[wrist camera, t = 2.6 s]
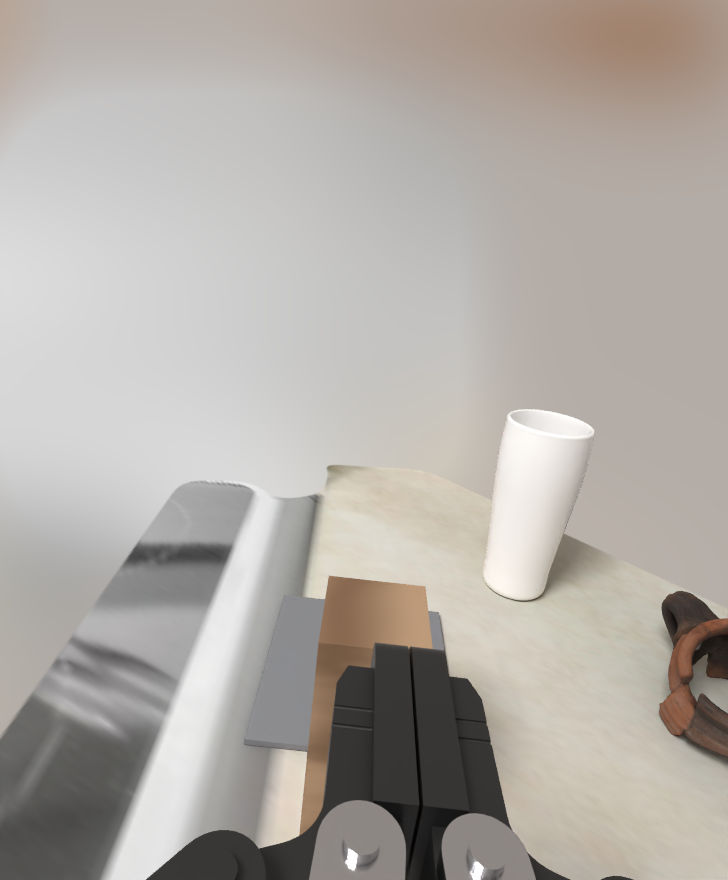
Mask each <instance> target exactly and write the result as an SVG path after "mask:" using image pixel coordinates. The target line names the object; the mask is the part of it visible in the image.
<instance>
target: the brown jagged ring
mask: <svg viewBox="0 0 728 880" xmlns="http://www.w3.org/2000/svg"><path fill="white" fill-rule="evenodd" d="M662 614H663V618H664V621H665V624H666V627H667V629H668V632H669V634H670V637H671V639H672V641H673V645H674V648H673V652H672V656H671V661H670V665H669V673H668V677H669V685H670V690H671V692H672V693H671V694H670V695H669V696H668V697H667V698H666V700H665V701H664V702H663V703H660V710H659V713H660V716H661V718H662V720H663V721H664V723H665V725H666V726H667V728H668V730H669V731H670V732H671V734H673V735H682V734H683V733H684V734H685V736H686V737H687V738H688V739H689V740H690V741H692V742H695V743H697V744H699V745H701V746H703V747H705V748H707V749H710V750H712V751H714V752H717V753H720V754H722V755H724V756H727V757H728V713H726V712H724V711H723V710H721V709H720V708H719V707H717V706H716V705H715V704H714V703H712V702H711V701H710V700H709V699H708V698H707V697H706V696H705V695H704V694H700V696H699V698H698V701H696V699H695V698H694V696H693V695H692V693H691V691H690V687H689V682H690V681H691V679H692V678H693V669H692V665H694V664H695V663H696V662H697V661H698V660H699V659H701V658H702V657H703V656H704V655H706V654H707V653H708V659H707V661H708V666H707V670H706V673H707V676H708V677H715V678H725V679H728V619H719V618H718V617H717V616H716V615H715V614H714V613H713V612H712V611H711V610H710V609H709V607H708V606H707V605H706V604H705V603H704V602H703V601H701V600H700V599H698V598H697V597H695V596H694V595H693V594H691V593H688V592H683V591H677V592H675V593H673V594H670V595H668V596H667V597H666V599H665V600H664V601H663V603H662Z"/></svg>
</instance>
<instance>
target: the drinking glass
mask: <svg viewBox="0 0 728 880" xmlns="http://www.w3.org/2000/svg"><path fill="white" fill-rule="evenodd" d="M594 435H595V431H594V429H593V428H592V427H591V426H590V425H588V424H587V423H585V422H583V421H581V420H578V419H576V418H573V417H570V416H567V415H563V414H559V413H554V412H549V411H543V410H533V409H521V410H515V411H512V412H510V413H509V414H508V415H507V419H506V423H505V426H504V430H503V434H502V438H501V442H500V447H499V452H498V458H497V464H496V472H495V480H494V490H493V498H492V507H491V516H490V525H489V533H488V541H487V549H486V556H485V561H484V565H483V571H482V574H483V579H484V581H485V583H486V584H487V585H488V586H489V587H490V588H491V589H492V590H493V591H495V592H496V593H498V594H500V595H502V596H504V597H507V598H510V599H514V600H532V599H535V598H537V597H539V596H540V595H541V594H542V593H543V591H544V589H545V586H546V583H547V579H548V575H549V572H550V569H551V566H552V563H553V561H554V558H555V555H556V552H557V550H558V547H559V544H560V542H561V539H562V536H563V534H564V531H565V528H566V526H567V523H568V520H569V518H570V515H571V513H572V510H573V507H574V505H575V502H576V499H577V497H578V494H579V491H580V488H581V485H582V483H583V479H584V476H585V473H586V469H587V466H588V461H589V458H590V454H591V449H592V445H593V440H594Z"/></svg>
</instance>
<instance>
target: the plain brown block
mask: <svg viewBox="0 0 728 880" xmlns="http://www.w3.org/2000/svg"><path fill="white" fill-rule="evenodd" d="M375 642H376V643H385V644H393V645H402V646H408V648H410V646H412V647H420V648H429V649H433V646H432V638H431V630H430V622H429V614H428V605H427V597H426V589H425V587H424V586H415V585H406V584H397V583H388V582H379V581H370V580H361V579H352V578H343V577H334V576H329V579H328V586H327V592H326V598H325V604H324V611H323V617H322V623H321V629H320V636H319V642H318V652H317V662H316V672H315V682H314V692H313V703H312V713H311V723H310V733H309V743H308V753H307V764H306V774H305V784H304V794H303V804H302V815H301V825H300V835H301V834H302V833H304V832H305V831H306V830H307V829H309V828H310V827H311V826H312V824H313V823H314V822H315V821H316V819H317V818H318V816H319V814H320V812H321V810H322V807H323V797H324V788H325V778H326V769H327V759H328V750H329V740H330V732H331V724H332V716H333V708H334V700H335V692H336V684H337V681H338V680H339V678H340V677H341V675H342V674H343V673H344V671H345V670H346V668H347V667H348V665H351V666H360V667H368V668H370V667H371V661H372V654H373V648H374V643H375ZM300 835H299V836H300Z"/></svg>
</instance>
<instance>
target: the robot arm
mask: <svg viewBox="0 0 728 880" xmlns="http://www.w3.org/2000/svg"><path fill="white" fill-rule="evenodd" d="M490 741H491V740H490V735H489V731H488V726H486V717H485V712H484V708H483V703H482V699H481V698H480V696H479V695H478V693H477V692H476V690H475V689H474V687H473V686H472V684H471V683H470V682H469V680H468V679H465V678H457V677H449V674H448V668H447V661H446V655H445V652H444V650H438V649H429V648H420V647H412V646H410V648H408V646H402V645H393V644H385V643H376V642H375V643H374V648H373V654H372V661H371V667H370V668H368V667H360V666H351V665H348V667H347V668H346V670H345V671H344V673H343V674H342V675H341V677H340V678H339V680H338V681H337V684H336V692H335V700H334V708H333V716H332V724H331V732H330V740H329V750H328V759H327V769H326V778H325V788H324V797H323V807H322V810H321V812H320V814H319V816H318V818H317V819H316V821H315V822H314V823H313V824H312V826H311V827H310V828H309V829H307V830H306V831H305V832H304V833H302V834H301V835H300V836H298V837H296V838H294V839H292V840H290V841H287V842H284V843H280V844H276V845H272V846H268V847H264V848H260V849H258V847H257V846H256V844H255V843H254V842H253V841H252V840H250V839H249V838H248V837H246V836H245V835H243V834H241V833H238V832H235V831H229V830H219V831H213V832H209V833H206V834H204V835H202V836H200V837H198V838H196V839H194V840H193V841H192V842H190V843H189V844H188V845H186V846H185V847H184V848H183V849H182V850H180V851H179V852H178V853H177V854H176V855H175V856H173V857H172V858H171V859H170V860H169V861H167V862H166V863H165V864H164V865H163V866H162V867H160V868H159V869H158V870H157V871H156V872H154V873H153V874H152V875H151V876H150V877H149V878H147V879H146V880H570V879H567V878H565V877H563V876H561V875H559V874H556V873H554V872H553V871H551V870H549V869H547V868H545V867H544V866H543V865H541V864H540V863H538V862H537V861H536V860H535V859H534V858H532V857H531V856H530V855H529V854H528V853H527V851H526V849H525V847H524V845H523V843H522V842H521V841H520V839H519V838H518V836H517V835H516V834H515V833H514V832H513V831H512V829H511V827H510V824H509V821H508V817H507V813H506V808H505V804H504V799H503V795H502V790H501V786H500V781H499V776H498V772H497V767H496V763H495V758H494V754H493V749H492V745H491V744H490ZM601 880H633V879H630V878H626V877H622V876H610V877H606V878H604V879H601Z"/></svg>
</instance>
